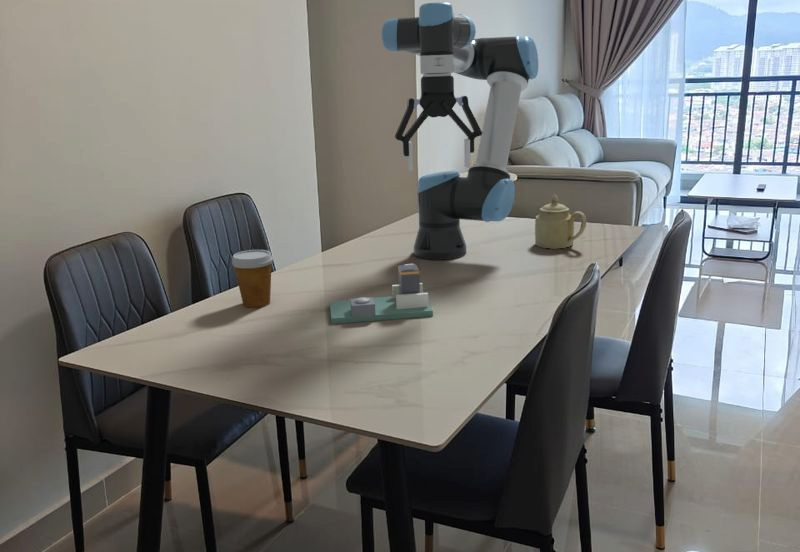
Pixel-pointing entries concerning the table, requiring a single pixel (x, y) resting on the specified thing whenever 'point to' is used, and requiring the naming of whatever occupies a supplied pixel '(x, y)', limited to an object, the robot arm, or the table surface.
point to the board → (381, 307)
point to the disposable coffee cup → (253, 276)
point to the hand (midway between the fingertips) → (439, 168)
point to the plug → (408, 279)
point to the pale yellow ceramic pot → (556, 226)
